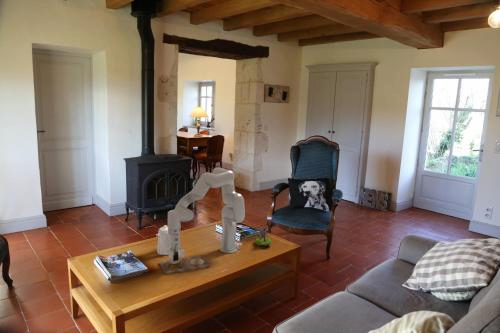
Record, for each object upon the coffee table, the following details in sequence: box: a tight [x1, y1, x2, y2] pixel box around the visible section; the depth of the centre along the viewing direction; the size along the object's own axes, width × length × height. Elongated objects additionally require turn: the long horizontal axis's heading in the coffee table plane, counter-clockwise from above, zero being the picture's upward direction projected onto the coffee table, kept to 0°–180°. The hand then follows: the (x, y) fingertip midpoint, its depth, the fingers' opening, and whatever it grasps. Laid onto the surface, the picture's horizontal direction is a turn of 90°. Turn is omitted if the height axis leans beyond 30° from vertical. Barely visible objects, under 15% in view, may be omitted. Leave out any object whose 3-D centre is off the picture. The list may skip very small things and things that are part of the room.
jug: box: [167, 248, 186, 265], centre depth 220 cm, size 11×7×8 cm, turn 116°
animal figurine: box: [253, 225, 273, 247], centre depth 261 cm, size 14×13×15 cm
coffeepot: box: [155, 224, 170, 256], centre depth 240 cm, size 11×25×19 cm, turn 168°
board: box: [158, 255, 211, 276], centre depth 224 cm, size 28×16×1 cm, turn 116°
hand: (174, 257), depth 220 cm, fingers closed on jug, 6 cm apart
